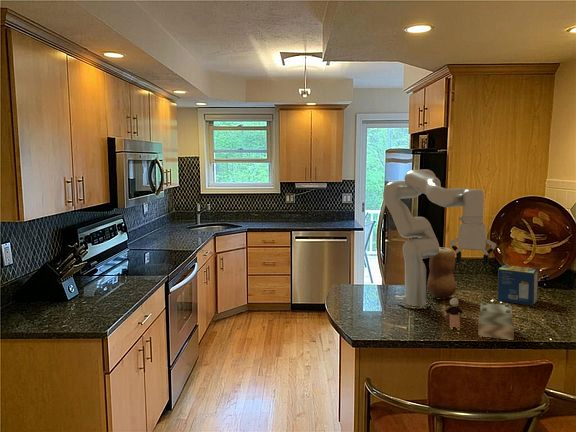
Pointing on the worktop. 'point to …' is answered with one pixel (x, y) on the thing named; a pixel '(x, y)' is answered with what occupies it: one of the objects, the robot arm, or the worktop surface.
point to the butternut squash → (442, 274)
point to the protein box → (518, 285)
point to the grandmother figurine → (454, 313)
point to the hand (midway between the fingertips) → (472, 263)
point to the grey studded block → (496, 321)
